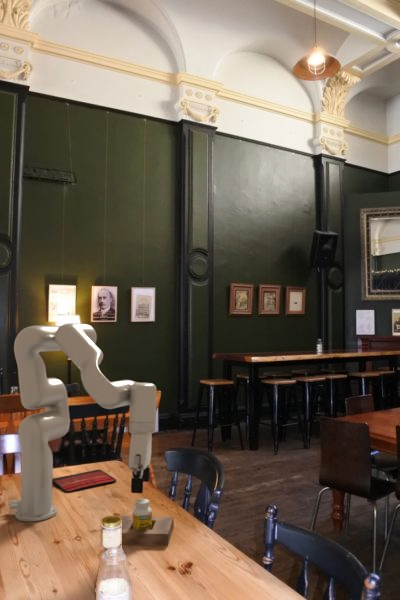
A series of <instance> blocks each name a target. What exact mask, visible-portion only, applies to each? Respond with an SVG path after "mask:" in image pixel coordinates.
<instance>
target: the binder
mask: <svg viewBox="0 0 400 600" xmlns="http://www.w3.org/2000/svg"><path fill="white" fill-rule="evenodd" d="M115 483H117V479H116V478H115V477H113V476H111V475H110V474H108V473H107V472H105V471H103V470H102V469H94V470H89V471H85V472H80V473H75V474H70V475H64V476H59V477H54V478H53V477H52V484H55V485H54V487H56V488H57V489H58V490H61V491H62V492H63V493H65V494H71V493H75V492H78V491H82V490H83V491H84V490H87V489H92V488H96V487H99V486H106V485H111V484H115Z"/></svg>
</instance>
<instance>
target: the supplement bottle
mask: <svg viewBox="0 0 400 600" xmlns="http://www.w3.org/2000/svg"><path fill="white" fill-rule="evenodd" d="M134 506H135V508H133V510H132V516H133V529H150V530H152V517H153V516H152V515H153V514H152V513H153V511H152V510H153V509H152V508H151V507H150V500H149V499H147V498H139V499H136V500H135V502H134Z"/></svg>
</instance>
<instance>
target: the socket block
mask: <svg viewBox="0 0 400 600" xmlns="http://www.w3.org/2000/svg"><path fill="white" fill-rule="evenodd" d="M119 517H120V518H121V520H122V544H121V545H126V546H127V545H129V546H131V545H132V546H134V545H135V546H169V544H170V540H171V538H172V534H173V531H174V527H175V526H174V524H175V523H174V516H152V530H150V529H133V515H131V516H130V515H129V516H128V515H120V516H119Z"/></svg>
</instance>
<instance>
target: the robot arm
mask: <svg viewBox="0 0 400 600" xmlns="http://www.w3.org/2000/svg"><path fill="white" fill-rule="evenodd" d="M97 337H98V336H97V332H96V330H95V328H94V327H92V326H91V325H90V324H86V323H74V322H73V323H65V324H63V325H31V326H27V327H25V328H23V329H22V330H20V331H19V333H18V334H17V336H15V340H14V345H13V352H14V357H15V361H16V364H17V372H18V384H19V396H20V402H21V404H22V405H21V406H22V407H24V409H26V410H39V409H44V411H41V412H37V413H33V414H30V415H28V416H26V417H24V418H23V419H22V420H21V421H20V423H19V425H18V438H19V444H20V452H21V453H20V454H21V462H20V463H21V464H20V465H21V467H20V468H21V469H20V470H21V471H20V477H21V479H20V499H19V500H18V499H17V500H16V499H11V500H9V502H8V507H9V509H15V510H16V511H15V515H14V516H15V519H16V520H18V521H21V522H39V521H43V520H48V519H50V518H52V517H54V516H55V515H56V514H57V513H58V508H57V506H56V505H54V504H53V483H52V479H53V477H54V476H53V474H54V473H53V472H54V471H53V470H54V469H53V468H54V467H53V464H54V463H53V460H54V459H53V453H52V450H51V449H52V448H51V447H50V445H49V443H48V442H51V441H54V440H57V439H60V438H62V437H64V436H65V435H66V434H67V433H68V431H69V430H70V424H71V418H70V417H71V416H70V409H69V400H68V391H67V388H66V386H65V384H64V382H63V381H62V380H61V379H58V378H56V377H48V376H47V372H46V371H47V369H46V364H45V362H44V360H43V358H42V356H41V355H40V354H39V353H41V352H61V351H62V352H63V353H64V354H65V355H66V356H67V357H68V358H69V359H70V360H71V361H72V362H73V364H74V365H75V366H76V367H77V368H78V369H79V370H80V378H81V383H82V387H83V388H84V390H85V392H87V394H88V395H89V396H90V398H92V400H93V401H94V402H95V403H97V405H99V406H100V407H101V408H104V409H106V410H107V409H108V410H112V409H117V408H121V407H126V406H129V421H128V423H129V424H128V432H129V433H130V435H131V436H130V442H129V443H130V444H129V453H128V454H129V456H128V466H127V467H128V469H129V470H132V473H131V477H130V478H131V481H130V485H131V486H130V493H132V494H143V492H144V483H146V482H148V483H149V482H150V471H151V470H150V464H151V463H150V462H151V460H152V459H151V458H152V442H153V441H152V439H153V438H152V437H153V435H152V434H154V433H155V432H156V423H157V422H156V417H157V414H156V413H157V386H156V385H155V384H154V383H152V382H151V383H150V382H138V381H134V380H131V379H122V380H116V381H110V380H109V379H108V378H107V377H106V376H105V375H104V374H103V373H102V372H101V370H100V367H99V365H100V364H101V363H102V361H103V359H104V353H103V351H102V350H101V349H100V348H99V347H98V346H97V344H96V343H97Z"/></svg>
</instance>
